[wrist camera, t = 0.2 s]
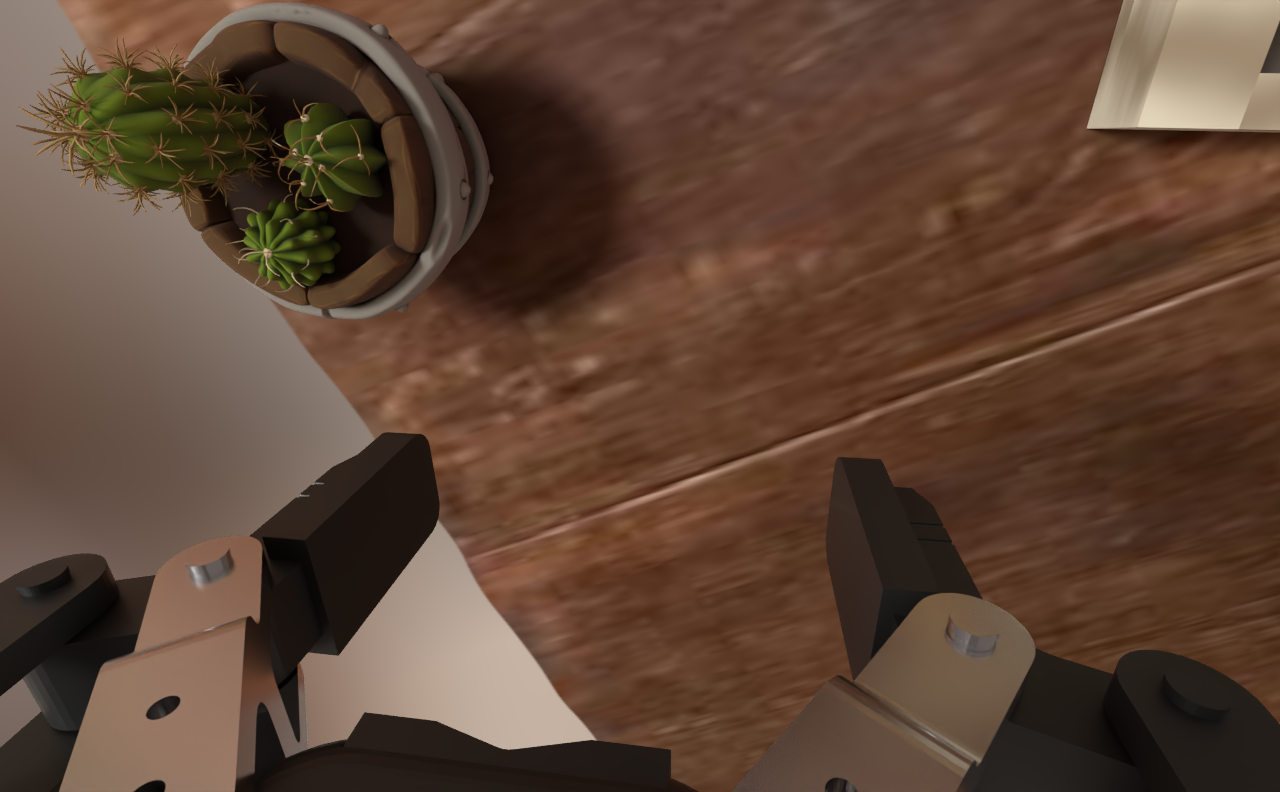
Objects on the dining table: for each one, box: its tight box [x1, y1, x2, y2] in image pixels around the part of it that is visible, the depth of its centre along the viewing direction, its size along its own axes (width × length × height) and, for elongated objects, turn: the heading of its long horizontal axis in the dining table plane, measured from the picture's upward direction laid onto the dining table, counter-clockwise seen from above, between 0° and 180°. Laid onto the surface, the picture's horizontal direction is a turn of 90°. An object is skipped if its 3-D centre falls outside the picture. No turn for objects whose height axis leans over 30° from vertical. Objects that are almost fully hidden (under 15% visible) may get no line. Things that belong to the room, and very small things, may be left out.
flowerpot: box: [17, 2, 493, 319], centre depth 29 cm, size 14×15×20 cm
